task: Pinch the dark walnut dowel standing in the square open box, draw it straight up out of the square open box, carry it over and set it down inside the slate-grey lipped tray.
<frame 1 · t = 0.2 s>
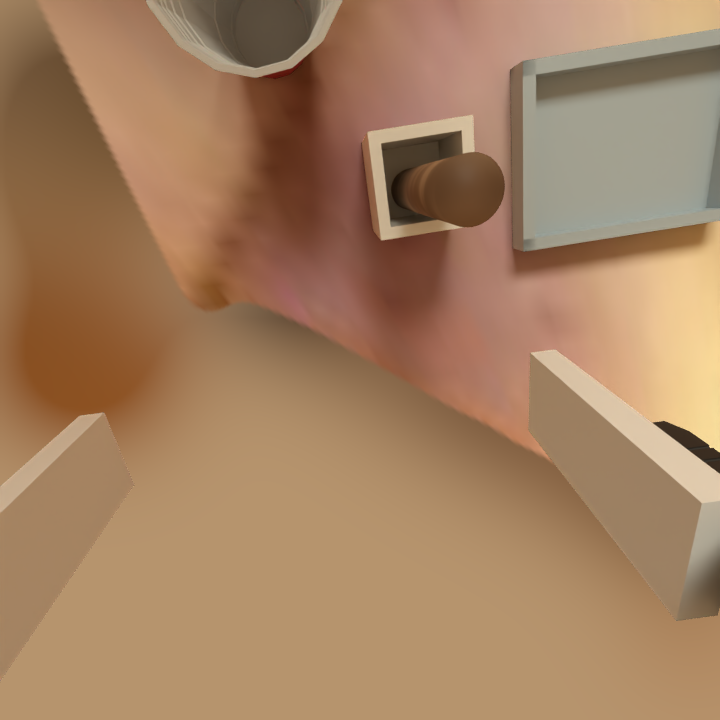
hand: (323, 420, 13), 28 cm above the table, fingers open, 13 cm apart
square open box: (407, 181, 37), on the table
dowel: (409, 189, 36), point 1 cm above the table, touching square open box
plastic cup: (273, 32, 33), on the table
tray: (616, 148, 37), on the table
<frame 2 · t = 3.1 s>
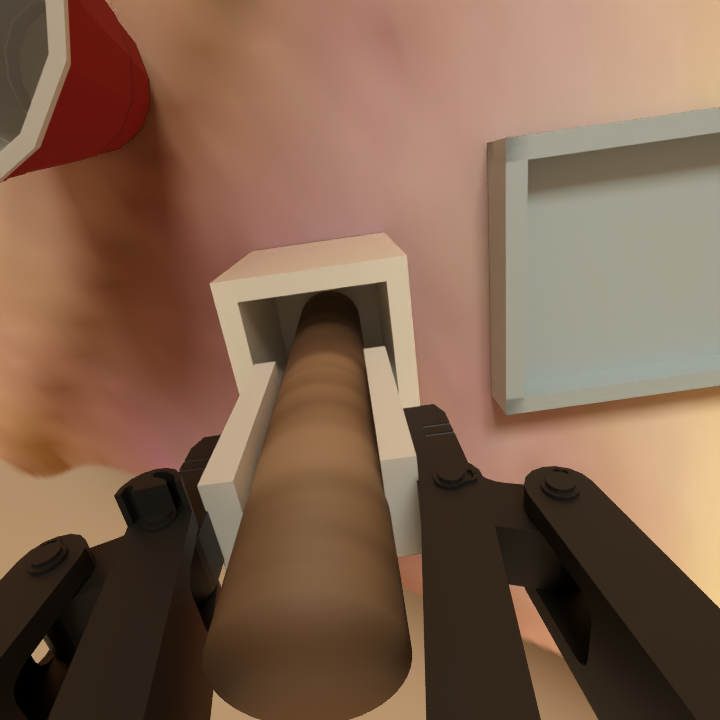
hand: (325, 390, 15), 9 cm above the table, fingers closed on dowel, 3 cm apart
square open box: (328, 306, 24), on the table
dowel: (330, 320, 23), point 1 cm above the table, touching gripper, square open box
plastic cup: (90, 78, 19), on the table
tray: (651, 260, 24), on the table
when the fingers open (11 cm above the table, at t = 8.2 s): dowel drops 2 cm, resting on tray.
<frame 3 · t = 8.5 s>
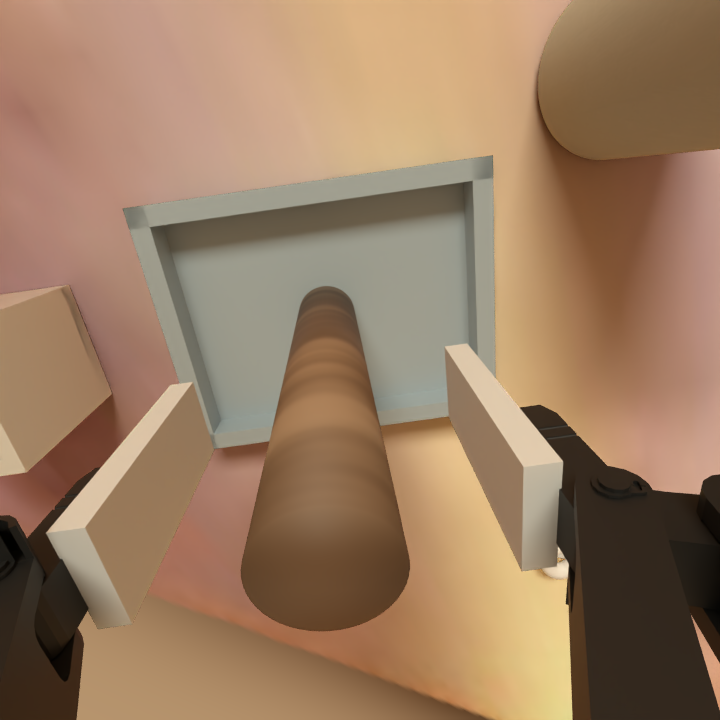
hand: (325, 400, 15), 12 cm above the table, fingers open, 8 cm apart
square open box: (34, 350, 26), on the table
travel mug: (610, 74, 22), on the table
dowel: (327, 313, 25), point 1 cm above the table, touching tray
tray: (330, 308, 26), on the table
cream curved piece: (541, 514, 33), on the table
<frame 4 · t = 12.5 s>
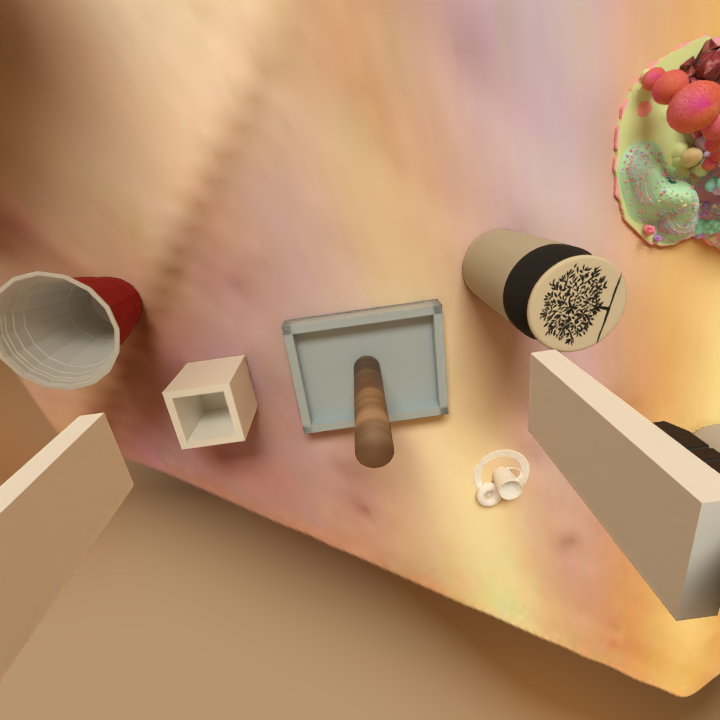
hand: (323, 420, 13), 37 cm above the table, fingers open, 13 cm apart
square open box: (223, 384, 53), on the table
can: (703, 443, 60), on the table
travel mug: (495, 264, 49), on the table
dowel: (366, 367, 52), point 1 cm above the table, touching tray
plastic cup: (118, 300, 48), on the table
tray: (368, 364, 53), on the table
cream curved piece: (478, 470, 60), on the table
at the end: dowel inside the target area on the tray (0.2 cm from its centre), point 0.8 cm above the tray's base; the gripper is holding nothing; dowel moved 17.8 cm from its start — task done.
